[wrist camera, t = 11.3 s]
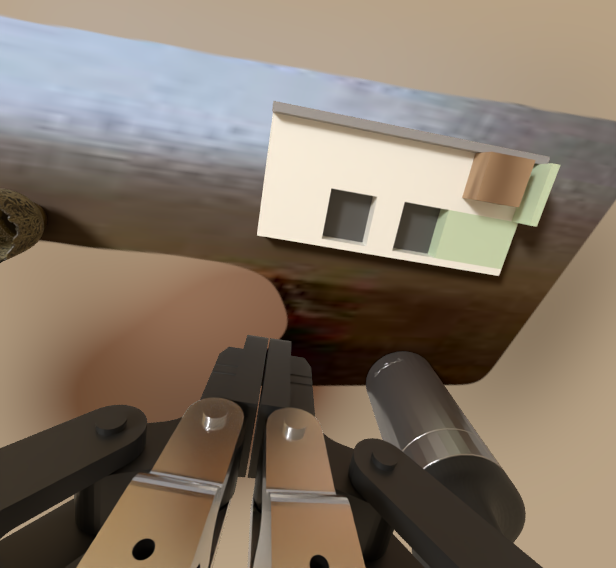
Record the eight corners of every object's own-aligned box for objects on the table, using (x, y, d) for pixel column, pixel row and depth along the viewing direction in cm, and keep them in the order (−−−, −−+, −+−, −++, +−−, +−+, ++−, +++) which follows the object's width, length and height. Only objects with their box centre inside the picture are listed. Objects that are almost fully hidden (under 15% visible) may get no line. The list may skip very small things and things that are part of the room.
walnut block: (516, 161, 35) (535, 160, 32) (501, 204, 37) (518, 207, 34) (475, 153, 35) (491, 151, 32) (462, 197, 36) (476, 199, 33)
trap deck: (526, 158, 38) (563, 156, 32) (487, 270, 41) (514, 284, 36) (275, 108, 35) (272, 96, 30) (259, 231, 39) (253, 240, 34)
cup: (70, 254, 39) (15, 273, 32) (2, 244, 39) (-70, 261, 31) (66, 187, 37) (6, 191, 29) (-6, 176, 36) (-86, 177, 29)
